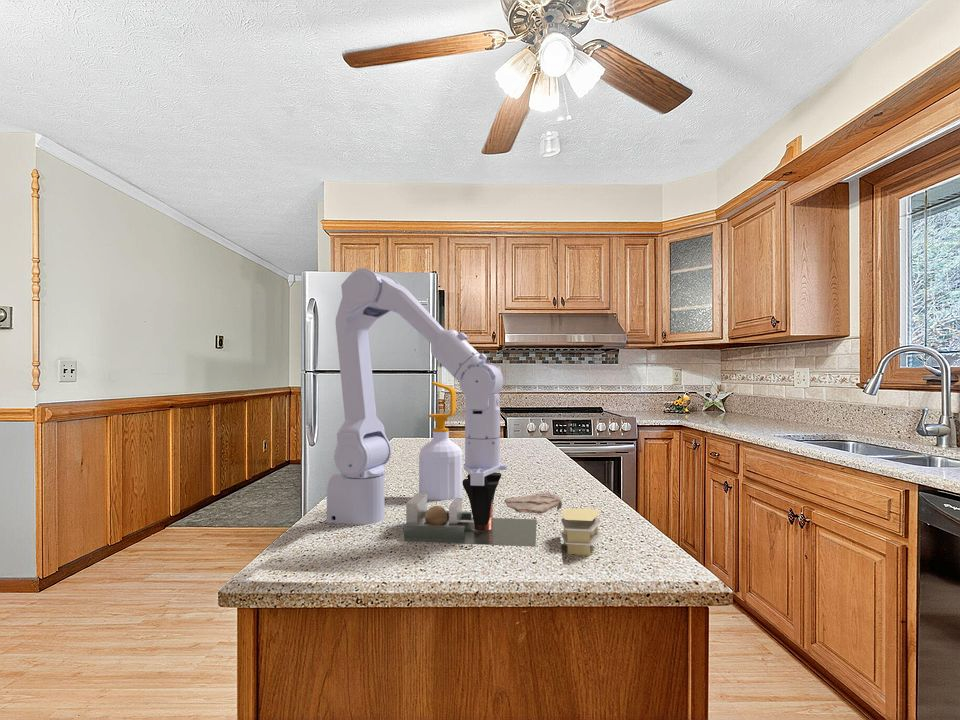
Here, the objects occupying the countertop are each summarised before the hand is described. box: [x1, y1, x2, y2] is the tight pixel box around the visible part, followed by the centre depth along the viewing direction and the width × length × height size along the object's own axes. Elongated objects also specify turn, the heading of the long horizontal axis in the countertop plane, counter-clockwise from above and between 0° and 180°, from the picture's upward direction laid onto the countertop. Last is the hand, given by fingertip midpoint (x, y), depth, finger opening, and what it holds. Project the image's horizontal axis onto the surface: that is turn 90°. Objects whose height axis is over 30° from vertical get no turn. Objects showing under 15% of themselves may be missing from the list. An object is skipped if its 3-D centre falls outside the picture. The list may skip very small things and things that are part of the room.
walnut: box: [425, 505, 447, 525], centre depth 86 cm, size 4×4×4 cm
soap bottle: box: [418, 381, 463, 501], centre depth 110 cm, size 9×9×25 cm
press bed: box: [396, 492, 538, 548], centre depth 86 cm, size 21×14×6 cm, turn 83°
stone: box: [504, 492, 563, 514], centre depth 101 cm, size 11×12×3 cm
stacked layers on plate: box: [560, 507, 601, 557], centre depth 80 cm, size 10×9×6 cm
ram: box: [448, 497, 494, 531], centre depth 86 cm, size 7×6×6 cm
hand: (482, 521), depth 85 cm, fingers closed on ram, 3 cm apart
